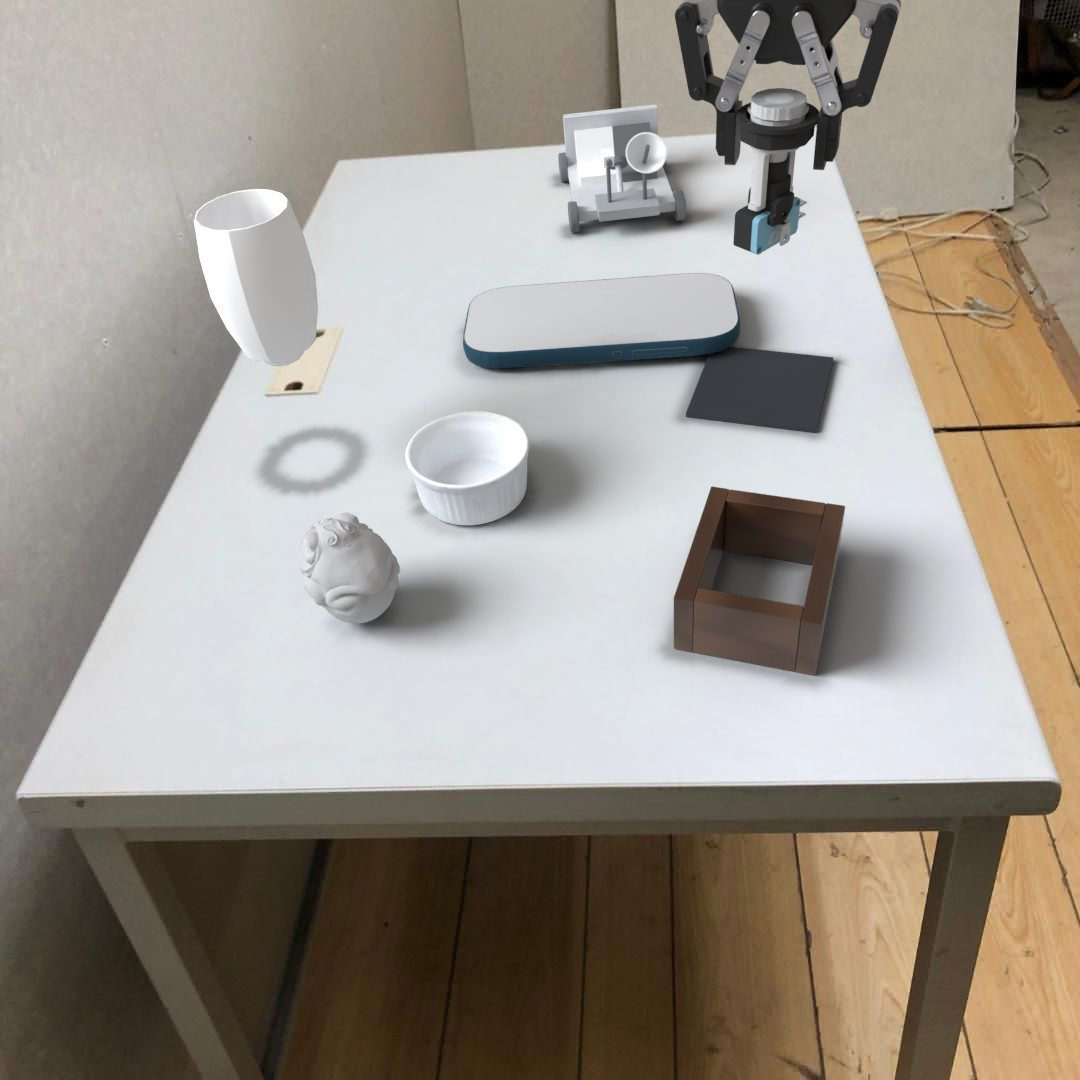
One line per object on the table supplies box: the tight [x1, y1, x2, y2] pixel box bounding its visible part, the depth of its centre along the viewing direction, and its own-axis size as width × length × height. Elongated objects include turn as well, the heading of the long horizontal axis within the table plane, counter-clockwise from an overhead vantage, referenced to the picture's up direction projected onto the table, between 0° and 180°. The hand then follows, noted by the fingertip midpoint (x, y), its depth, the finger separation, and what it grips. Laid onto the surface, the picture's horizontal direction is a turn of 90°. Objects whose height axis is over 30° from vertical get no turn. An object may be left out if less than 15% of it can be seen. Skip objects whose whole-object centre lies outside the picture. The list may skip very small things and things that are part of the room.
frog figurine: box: [298, 512, 401, 624], centre depth 68 cm, size 6×7×7 cm
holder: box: [673, 486, 846, 676], centre depth 66 cm, size 9×11×4 cm
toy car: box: [557, 103, 687, 234], centre depth 108 cm, size 18×10×12 cm
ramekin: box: [404, 410, 530, 526], centre depth 77 cm, size 9×9×4 cm
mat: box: [685, 346, 834, 434], centre depth 85 cm, size 10×10×1 cm
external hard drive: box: [462, 272, 741, 369], centre depth 92 cm, size 24×12×2 cm, turn 88°
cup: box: [193, 188, 319, 367], centre depth 76 cm, size 7×7×21 cm
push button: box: [733, 87, 820, 255], centre depth 73 cm, size 7×5×10 cm
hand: (776, 162), depth 73 cm, fingers closed on push button, 5 cm apart
